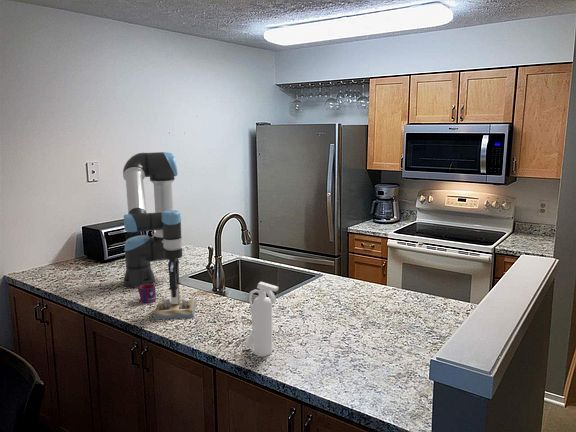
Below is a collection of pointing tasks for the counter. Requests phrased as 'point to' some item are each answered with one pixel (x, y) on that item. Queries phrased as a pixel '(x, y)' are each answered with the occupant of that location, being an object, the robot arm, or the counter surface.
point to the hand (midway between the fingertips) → (175, 301)
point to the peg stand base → (175, 307)
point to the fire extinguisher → (262, 319)
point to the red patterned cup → (147, 293)
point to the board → (176, 315)
